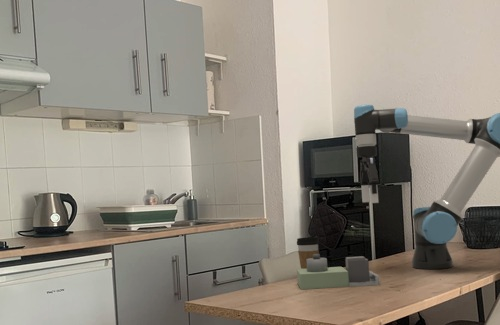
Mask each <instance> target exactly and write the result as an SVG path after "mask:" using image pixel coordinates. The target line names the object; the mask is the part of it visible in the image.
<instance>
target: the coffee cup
mask: <svg viewBox="0 0 500 325" xmlns="http://www.w3.org/2000/svg"><path fill="white" fill-rule="evenodd" d="M319 244H320V242H319V236H309V237H298V238H297V239H296V245H297V249H298V251H297V253H298V259H299V265H300V269H307V261H306V259H309V258H313V254H319Z"/></svg>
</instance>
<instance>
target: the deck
mask: <svg viewBox="0 0 500 325" xmlns="http://www.w3.org/2000/svg"><path fill="white" fill-rule="evenodd" d="M306 261H307V269H301V268H299V269H298V268H297V269H296V276H297V277H296V279H297V284H298V286H299V288H300V290H301V291H302V290H313V289H314V290H316V289H330V288H331V289H333V288H347V287H349V278H348V271H347V270H346V268H344V267H342V266H331V267H330V266H329V267H328V259H327V258H326V257H321V255H320V253H318V254H313V258H309V259H306Z"/></svg>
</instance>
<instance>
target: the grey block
mask: <svg viewBox="0 0 500 325" xmlns="http://www.w3.org/2000/svg"><path fill="white" fill-rule="evenodd" d="M345 270H347V271H348V278H349V283H352V282H368V281H370V277H369V271H370V265H369V259H368V258H366V257H365V256H362V255H361V256H360V255H359V256H347V257H345Z"/></svg>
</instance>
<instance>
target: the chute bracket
mask: <svg viewBox="0 0 500 325" xmlns="http://www.w3.org/2000/svg"><path fill="white" fill-rule="evenodd" d="M369 277H370V281H368V282H352V283H349V287H351V288H352V287H353V288H356V287H369V286H380V284H381V283H380V282H381V281H380V275H379V274H377V273H375V272H373V271H372V270H369Z"/></svg>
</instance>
